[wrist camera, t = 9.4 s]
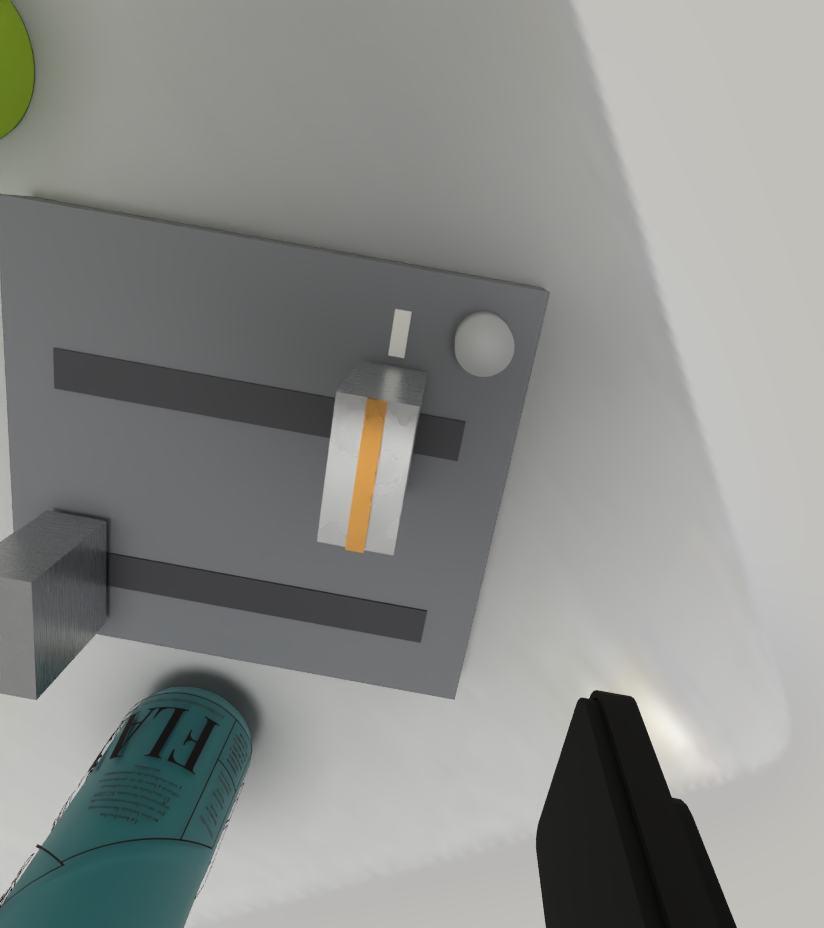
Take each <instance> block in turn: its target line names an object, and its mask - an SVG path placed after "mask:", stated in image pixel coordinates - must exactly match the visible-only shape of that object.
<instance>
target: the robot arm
mask: <svg viewBox="0 0 824 928" xmlns="http://www.w3.org/2000/svg"><path fill="white" fill-rule="evenodd" d="M536 851H537V860H538V867H539V876H540V884H541V891H542V899H543V907H544V915H545V923H546V928H737V927H736V924H735V922H734V920H733V917H732V914H731V912H730V909H729V907H728V904H727V902H726V899H725V897H724V894H723V892H722V889H721V887H720V884H719V882H718V879H717V877H716V874H715V871H714V869H713V866H712V864H711V861H710V859H709V856H708V854H707V852H706V849H705V846H704V844H703V841H702V839H701V836H700V834H699V831H698V829H697V826H696V824H695V821H694V819H693V816H692V814H691V812H690V810H689V808H688V806H687V805H686V804H685V803H684V802H683V801H682V800H681V799H676V798H672V797H671V794H670V791H669V789H668V786H667V783H666V781H665V778H664V775H663V773H662V770H661V767H660V765H659V762H658V759H657V757H656V754H655V751H654V749H653V746H652V743H651V741H650V738H649V735H648V733H647V730H646V727H645V725H644V722H643V719H642V717H641V714H640V711H639V708H638V706H637V703H636V701H635V700H634V698H632V697H631V696H626V695H620V694H615V693H609V692H604V691H598V690H596V691H593V693H592V694H591V696H590V698H589V699H587V698H580V699H579V700H578V702H577V704H576V707H575V710H574V714H573V717H572V720H571V723H570V726H569V729H568V732H567V736H566V739H565V742H564V745H563V748H562V751H561V754H560V757H559V761H558V764H557V767H556V770H555V773H554V776H553V779H552V783H551V786H550V789H549V792H548V795H547V798H546V801H545V804H544V808H543V811H542V814H541V817H540V820H539V824H538V828H537V836H536Z"/></svg>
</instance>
